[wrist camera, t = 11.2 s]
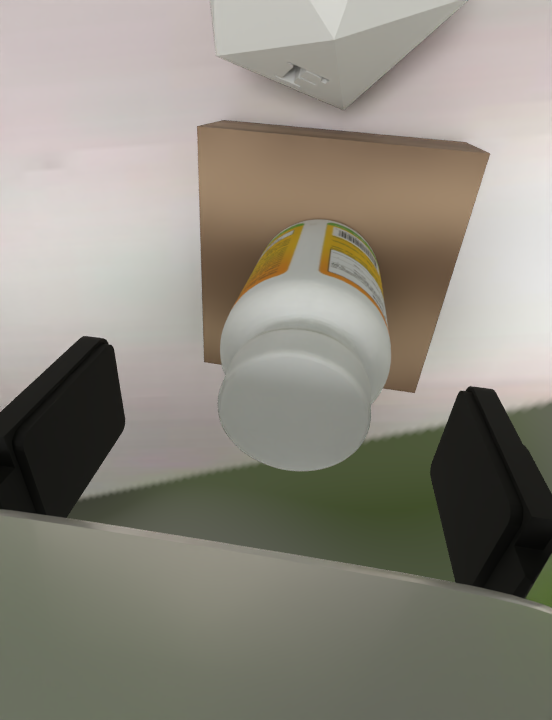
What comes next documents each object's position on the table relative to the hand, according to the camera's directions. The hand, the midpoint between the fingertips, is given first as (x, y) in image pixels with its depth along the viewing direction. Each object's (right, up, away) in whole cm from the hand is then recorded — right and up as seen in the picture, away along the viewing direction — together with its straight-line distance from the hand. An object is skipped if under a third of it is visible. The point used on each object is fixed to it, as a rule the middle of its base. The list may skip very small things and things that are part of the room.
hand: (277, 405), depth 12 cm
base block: (+3, +7, +11) cm, 13 cm away
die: (+2, +17, +5) cm, 17 cm away
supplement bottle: (+2, +5, +7) cm, 9 cm away
